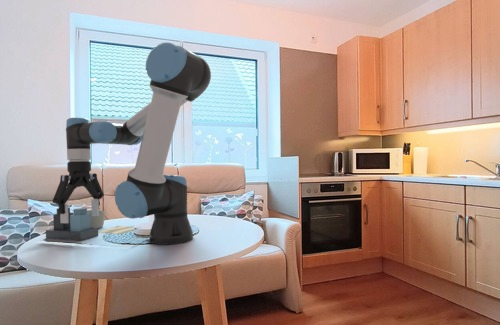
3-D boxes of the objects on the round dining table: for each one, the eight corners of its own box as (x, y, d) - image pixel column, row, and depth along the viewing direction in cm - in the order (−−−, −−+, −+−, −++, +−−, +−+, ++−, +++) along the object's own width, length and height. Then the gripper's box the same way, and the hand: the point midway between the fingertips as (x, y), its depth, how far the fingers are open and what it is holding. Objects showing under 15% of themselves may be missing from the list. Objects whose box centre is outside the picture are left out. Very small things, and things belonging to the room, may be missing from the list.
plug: (90, 237, 114) (90, 208, 114) (80, 240, 110) (79, 209, 110) (81, 237, 115) (80, 207, 115) (70, 240, 111) (70, 209, 111)
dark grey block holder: (98, 238, 115) (97, 207, 115) (80, 243, 107) (79, 210, 107) (65, 235, 120) (64, 206, 120) (45, 241, 112) (45, 209, 112)
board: (141, 229, 128) (141, 227, 128) (121, 236, 117) (121, 234, 117) (117, 228, 132) (117, 225, 132) (95, 235, 120) (95, 232, 120)
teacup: (87, 227, 135) (87, 209, 135) (110, 227, 134) (110, 209, 134) (64, 235, 121) (63, 214, 121) (89, 235, 120) (89, 215, 120)
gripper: (97, 161, 125) (98, 213, 125) (38, 161, 102) (40, 226, 102) (112, 160, 123) (114, 213, 123) (56, 160, 99) (58, 226, 99)
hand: (80, 219), depth 112 cm, fingers open, 13 cm apart
